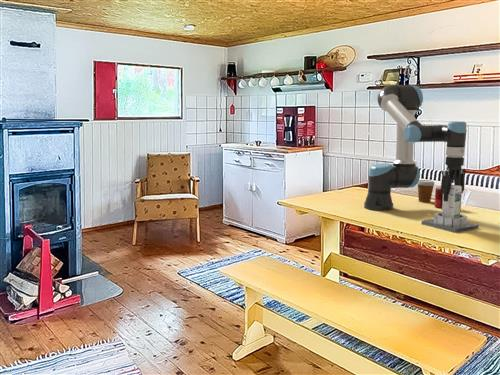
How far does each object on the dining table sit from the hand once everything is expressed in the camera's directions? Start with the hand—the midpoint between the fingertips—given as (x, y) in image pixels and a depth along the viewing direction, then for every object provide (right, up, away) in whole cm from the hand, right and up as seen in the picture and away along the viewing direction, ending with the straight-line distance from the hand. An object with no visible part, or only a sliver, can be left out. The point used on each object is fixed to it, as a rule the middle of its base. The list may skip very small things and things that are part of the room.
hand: (451, 207), depth 215 cm
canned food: (+13, -2, +42) cm, 44 cm away
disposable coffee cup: (+9, +1, +58) cm, 59 cm away
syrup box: (0, -5, +1) cm, 5 cm away
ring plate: (0, -9, +1) cm, 9 cm away
